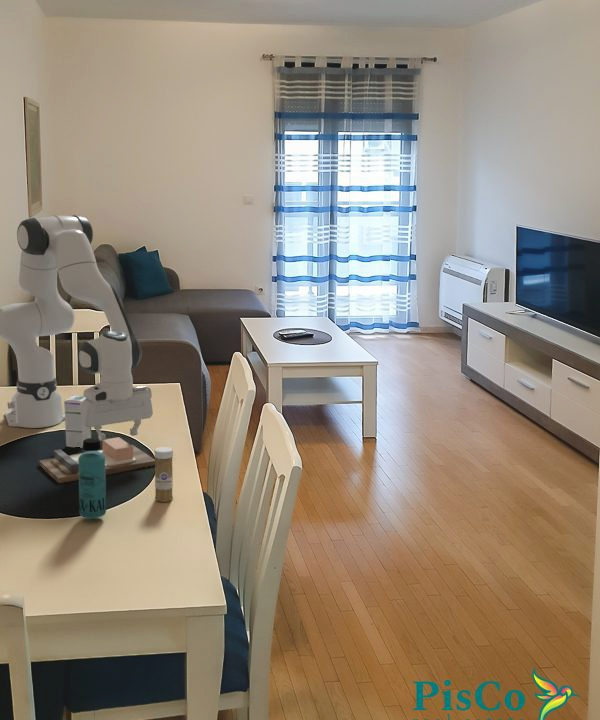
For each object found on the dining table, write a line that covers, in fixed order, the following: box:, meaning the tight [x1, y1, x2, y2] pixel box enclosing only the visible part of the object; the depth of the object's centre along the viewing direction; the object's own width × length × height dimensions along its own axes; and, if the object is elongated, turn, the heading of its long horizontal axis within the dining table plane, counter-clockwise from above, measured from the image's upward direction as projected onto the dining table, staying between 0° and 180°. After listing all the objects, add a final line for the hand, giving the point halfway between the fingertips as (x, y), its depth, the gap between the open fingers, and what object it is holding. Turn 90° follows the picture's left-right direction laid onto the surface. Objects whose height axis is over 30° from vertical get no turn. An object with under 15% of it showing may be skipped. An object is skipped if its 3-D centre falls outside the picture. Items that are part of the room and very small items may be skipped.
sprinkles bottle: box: [154, 446, 174, 503], centre depth 228 cm, size 5×5×14 cm
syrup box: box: [63, 395, 93, 449], centre depth 269 cm, size 6×6×14 cm
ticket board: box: [38, 444, 155, 484], centre depth 252 cm, size 16×28×4 cm, turn 124°
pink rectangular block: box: [97, 436, 136, 466], centre depth 255 cm, size 12×8×4 cm, turn 34°
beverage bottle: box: [77, 437, 108, 519], centre depth 214 cm, size 6×7×20 cm
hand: (118, 437), depth 254 cm, fingers open, 8 cm apart
